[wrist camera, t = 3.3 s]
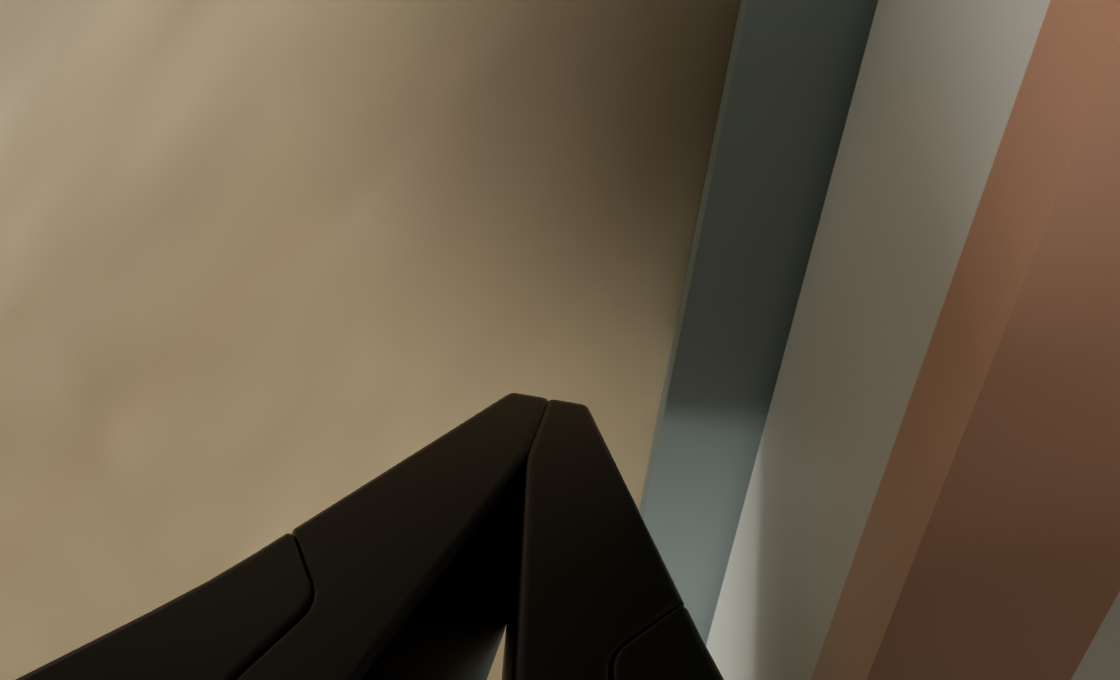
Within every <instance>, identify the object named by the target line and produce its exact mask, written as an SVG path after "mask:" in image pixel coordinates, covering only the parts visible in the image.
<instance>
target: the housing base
mask: <svg viewBox="0 0 1120 680" xmlns="http://www.w3.org/2000/svg"><path fill="white" fill-rule="evenodd" d="M877 3H878V0H741V3H740V8H739V13H738V18H737V23H736V28H735V33H734V38H733V43H732V48H731V53H730V58H729V63H728V68H727V73H726V78H725V83H724V88H723V93H722V98H721V103H720V108H719V113H718V118H717V123H716V128H715V133H714V138H713V143H712V149H711V154H710V159H709V164H708V169H707V174H706V179H705V184H704V189H703V194H702V199H701V204H700V209H699V214H698V219H697V224H696V229H695V234H694V239H693V244H692V249H691V254H690V259H689V264H688V269H687V274H686V279H685V284H684V289H683V295H682V300H681V305H680V310H679V315H678V320H677V325H676V330H675V335H674V340H673V345H672V350H671V355H670V360H669V365H668V370H667V375H666V380H665V385H664V390H663V395H662V400H661V405H660V410H659V415H658V420H657V425H656V430H655V435H654V441H653V446H652V451H651V456H650V461H649V466H648V471H647V476H646V481H645V486H644V491H643V496H642V501H641V506H640V511H639V512H640V515H641V517H642V519H643V521H644V523H645V525H646V527H647V529H648V531H649V533H650V535H651V537H652V539H653V541H654V543H655V545H656V547H657V549H658V551H659V553H660V555H661V557H662V559H663V561H664V563H665V565H666V567H667V569H668V571H669V573H670V575H671V577H672V579H673V582H674V584H675V586H676V588H677V590H678V592H679V594H680V596H681V598H682V600H683V602H684V607H685V608H687V609H688V611H689V613H690V615H691V617H692V619H693V621H694V623H695V626H696V628H697V630H698V632H699V634H700V636H701V638H702V640H703V642H704V644H705V645H706V644H707V640H708V636H709V632H710V629H711V625H712V621H713V618H714V614H715V610H716V606H717V603H718V599H719V595H720V591H721V588H722V584H723V580H724V576H725V573H726V569H727V565H728V561H729V558H730V554H731V550H732V546H733V543H734V539H735V535H736V531H737V528H738V524H739V520H740V516H741V513H742V509H743V505H744V501H745V498H746V494H747V490H748V486H749V483H750V479H751V475H752V471H753V468H754V464H755V460H756V456H757V453H758V449H759V445H760V442H761V438H762V434H763V430H764V427H765V423H766V419H767V415H768V412H769V408H770V404H771V400H772V397H773V393H774V389H775V385H776V382H777V378H778V374H779V370H780V367H781V363H782V359H783V355H784V352H785V348H786V344H787V340H788V337H789V333H790V329H791V325H792V322H793V318H794V314H795V310H796V307H797V303H798V299H799V295H800V292H801V288H802V284H803V280H804V277H805V273H806V269H807V266H808V262H809V258H810V254H811V251H812V247H813V243H814V239H815V236H816V232H817V228H818V224H819V221H820V217H821V213H822V209H823V206H824V202H825V198H826V194H827V191H828V187H829V183H830V179H831V176H832V172H833V168H834V164H835V161H836V157H837V153H838V149H839V146H840V142H841V138H842V134H843V131H844V127H845V123H846V119H847V116H848V112H849V108H850V104H851V101H852V97H853V93H854V89H855V86H856V82H857V78H858V75H859V71H860V67H861V63H862V60H863V56H864V52H865V48H866V45H867V41H868V37H869V33H870V30H871V26H872V22H873V18H874V15H875V11H876V7H877Z"/></svg>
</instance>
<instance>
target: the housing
mask: <svg viewBox="0 0 1120 680" xmlns="http://www.w3.org/2000/svg"><path fill="white" fill-rule="evenodd" d="M706 647H707V649H708V651H709V653H710V655H711V656H712V658H713V660H714V662H715V664H716V666H717V668H718V669H719V671H720V673H721V675H722V677H723V679H724V680H1120V0H878V3H877V7H876V11H875V15H874V18H873V22H872V26H871V30H870V33H869V37H868V41H867V45H866V48H865V52H864V56H863V60H862V63H861V67H860V71H859V75H858V78H857V82H856V86H855V89H854V93H853V97H852V101H851V104H850V108H849V112H848V116H847V119H846V123H845V127H844V131H843V134H842V138H841V142H840V146H839V149H838V153H837V157H836V161H835V164H834V168H833V172H832V176H831V179H830V183H829V187H828V191H827V194H826V198H825V202H824V206H823V209H822V213H821V217H820V221H819V224H818V228H817V232H816V236H815V239H814V243H813V247H812V251H811V254H810V258H809V262H808V266H807V269H806V273H805V277H804V280H803V284H802V288H801V292H800V295H799V299H798V303H797V307H796V310H795V314H794V318H793V322H792V325H791V329H790V333H789V337H788V340H787V344H786V348H785V352H784V355H783V359H782V363H781V367H780V370H779V374H778V378H777V382H776V385H775V389H774V393H773V397H772V400H771V404H770V408H769V412H768V415H767V419H766V423H765V427H764V430H763V434H762V438H761V442H760V445H759V449H758V453H757V456H756V460H755V464H754V468H753V471H752V475H751V479H750V483H749V486H748V490H747V494H746V498H745V501H744V505H743V509H742V513H741V516H740V520H739V524H738V528H737V531H736V535H735V539H734V543H733V546H732V550H731V554H730V558H729V561H728V565H727V569H726V573H725V576H724V580H723V584H722V588H721V591H720V595H719V599H718V603H717V606H716V610H715V614H714V618H713V621H712V625H711V629H710V632H709V636H708V640H707V644H706Z"/></svg>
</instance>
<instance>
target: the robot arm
mask: <svg viewBox="0 0 1120 680" xmlns="http://www.w3.org/2000/svg"><path fill="white" fill-rule="evenodd" d="M506 624H507V626H506ZM505 627H506V636H505V647H504V658H503V670H502V680H724V679H723V677H722V675H721V673H720V671H719V669H718V668H717V666H716V664H715V662H714V660H713V658H712V656H711V655H710V653H709V651H708V649H707V647H706V645H705V644H704V642H703V640H702V638H701V636H700V634H699V632H698V630H697V628H696V626H695V623H694V621H693V619H692V617H691V615H690V613H689V611H688V609H687V608H685V607H684V602H683V600H682V598H681V596H680V594H679V592H678V590H677V588H676V586H675V584H674V582H673V579H672V577H671V575H670V573H669V571H668V569H667V567H666V565H665V563H664V561H663V559H662V557H661V555H660V553H659V551H658V549H657V547H656V545H655V543H654V541H653V539H652V537H651V535H650V533H649V531H648V529H647V527H646V525H645V523H644V521H643V519H642V517H641V515H640V512H639V510H638V508H637V506H636V504H635V502H634V500H633V498H632V496H631V494H630V492H629V490H628V488H627V486H626V484H625V482H624V480H623V478H622V476H621V474H620V472H619V470H618V468H617V466H616V464H615V462H614V460H613V458H612V456H611V454H610V452H609V450H608V448H607V445H606V443H605V441H604V439H603V437H602V435H601V433H600V431H599V429H598V427H597V425H596V423H595V421H594V419H593V417H592V415H591V413H590V411H589V409H588V408H587V407H586V406H585V405H582V404H577V403H571V402H565V401H559V400H550V401H548V400H546V399H545V398H541V397H535V396H530V395H524V394H518V393H511V394H509V395H507V396H505V397H503V398H502V399H500V400H499V401H497V402H495V403H494V404H492V405H491V406H489V407H487V408H486V409H484V410H483V411H481V412H480V413H478V414H476V415H475V416H473V417H472V418H470V419H468V420H467V421H465V422H464V423H462V424H460V425H459V426H457V427H456V428H454V429H453V430H451V431H449V432H448V433H446V434H445V435H443V436H441V437H440V438H438V439H437V440H435V441H433V442H432V443H430V444H429V445H427V446H426V447H424V448H422V449H421V450H419V451H418V452H416V453H414V454H413V455H411V456H410V457H408V458H406V459H405V460H403V461H402V462H400V463H399V464H397V465H395V466H394V467H392V468H391V469H389V470H387V471H386V472H384V473H383V474H381V475H379V476H378V477H376V478H375V479H373V480H371V481H370V482H368V483H367V484H365V485H364V486H362V487H360V488H359V489H357V490H356V491H354V492H352V493H351V494H349V495H348V496H346V497H344V498H343V499H341V500H340V501H338V502H337V503H335V504H333V505H332V506H330V507H329V508H327V509H325V510H324V511H322V512H321V513H319V514H317V515H316V516H314V517H313V518H311V519H310V520H308V521H306V522H305V523H303V524H302V525H300V526H298V527H297V528H295V529H294V530H293V532H292V534H285V535H284V536H282V537H280V538H279V539H277V540H276V541H274V542H272V543H271V544H269V545H268V546H266V547H264V548H263V549H261V550H260V551H258V552H256V553H255V554H253V555H251V556H250V557H248V558H246V559H245V560H243V561H241V562H240V563H238V564H236V565H235V566H233V567H231V568H229V569H228V570H226V571H224V572H223V573H221V574H219V575H218V576H216V577H214V578H213V579H211V580H209V581H207V582H206V583H204V584H202V585H200V586H198V587H196V588H194V589H192V590H191V591H189V592H187V593H185V594H183V595H181V596H179V597H177V598H175V599H174V600H172V601H170V602H168V603H166V604H164V605H162V606H160V607H158V608H157V609H155V610H153V611H151V612H149V613H147V614H145V615H143V616H141V617H139V618H137V619H135V620H133V621H131V622H129V623H127V624H125V625H123V626H121V627H119V628H117V629H115V630H113V631H111V632H109V633H107V634H105V635H103V636H101V637H99V638H97V639H95V640H93V641H91V642H89V643H87V644H85V645H83V646H82V647H80V648H78V649H76V650H74V651H72V652H70V653H68V654H66V655H64V656H62V657H60V658H58V659H56V660H54V661H52V662H50V663H48V664H46V665H44V666H42V667H40V668H38V669H36V670H34V671H32V672H30V673H28V674H26V675H24V676H22V677H20V678H18V679H16V680H486V679H487V677H488V674H489V671H490V669H491V666H492V663H493V660H494V658H495V655H496V652H497V650H498V647H499V644H500V642H501V639H502V636H503V633H504V630H505Z"/></svg>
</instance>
